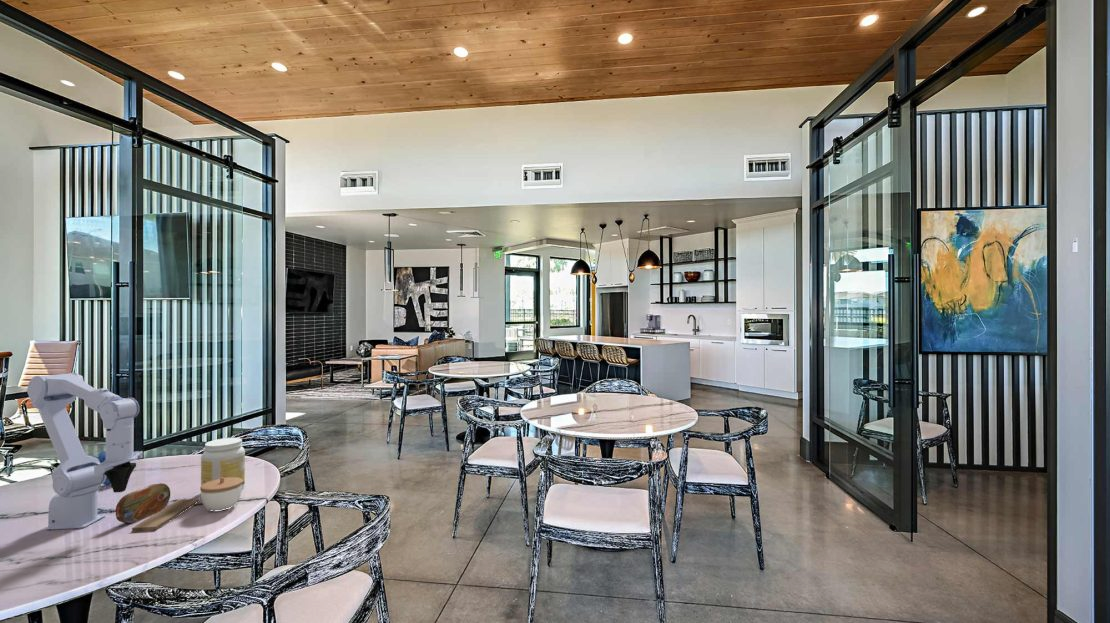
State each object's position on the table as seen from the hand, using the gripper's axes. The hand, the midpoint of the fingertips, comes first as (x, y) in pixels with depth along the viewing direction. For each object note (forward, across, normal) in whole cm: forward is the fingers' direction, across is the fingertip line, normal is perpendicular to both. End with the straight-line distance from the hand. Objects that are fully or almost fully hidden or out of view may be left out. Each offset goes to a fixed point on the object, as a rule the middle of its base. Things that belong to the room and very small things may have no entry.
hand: (119, 491), depth 131 cm
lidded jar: (+11, +12, -20) cm, 26 cm away
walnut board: (+10, +8, -8) cm, 15 cm away
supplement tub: (+11, +27, -13) cm, 31 cm away
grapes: (+10, +37, +30) cm, 48 cm away
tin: (+11, +8, -1) cm, 13 cm away
